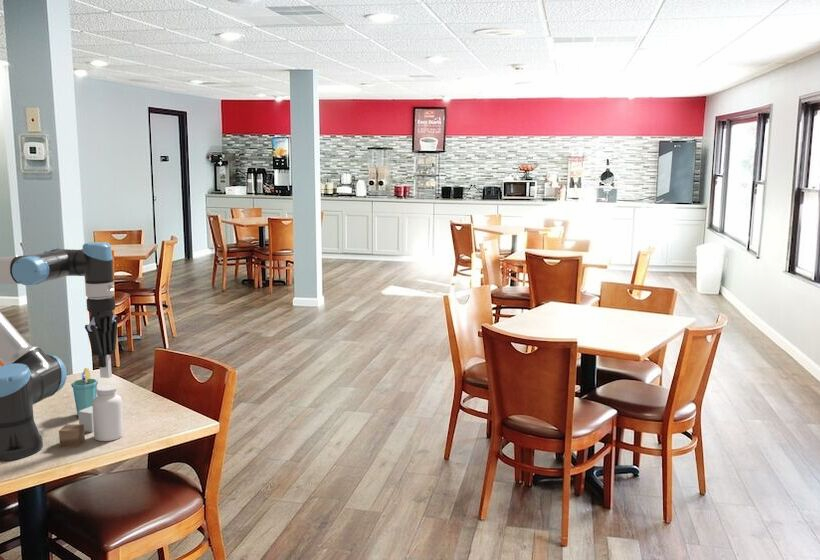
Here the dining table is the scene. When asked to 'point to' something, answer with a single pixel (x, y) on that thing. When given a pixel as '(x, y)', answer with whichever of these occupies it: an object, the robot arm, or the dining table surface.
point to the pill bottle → (107, 414)
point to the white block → (87, 419)
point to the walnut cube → (71, 435)
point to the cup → (84, 391)
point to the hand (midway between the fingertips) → (106, 376)
